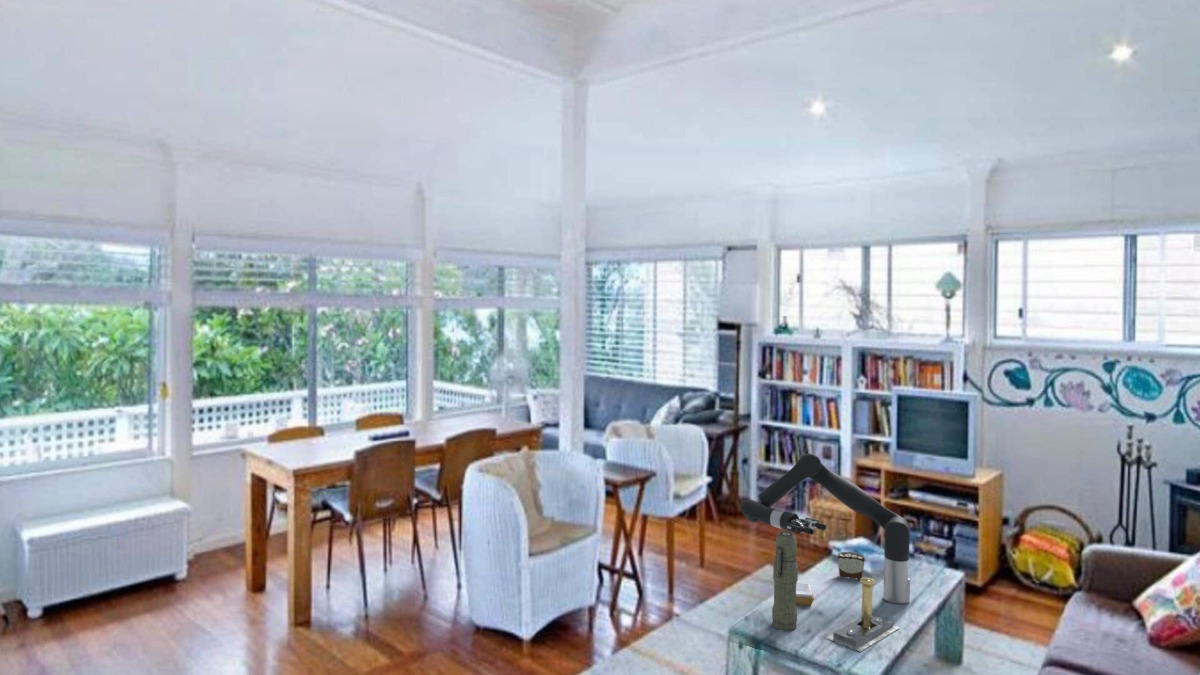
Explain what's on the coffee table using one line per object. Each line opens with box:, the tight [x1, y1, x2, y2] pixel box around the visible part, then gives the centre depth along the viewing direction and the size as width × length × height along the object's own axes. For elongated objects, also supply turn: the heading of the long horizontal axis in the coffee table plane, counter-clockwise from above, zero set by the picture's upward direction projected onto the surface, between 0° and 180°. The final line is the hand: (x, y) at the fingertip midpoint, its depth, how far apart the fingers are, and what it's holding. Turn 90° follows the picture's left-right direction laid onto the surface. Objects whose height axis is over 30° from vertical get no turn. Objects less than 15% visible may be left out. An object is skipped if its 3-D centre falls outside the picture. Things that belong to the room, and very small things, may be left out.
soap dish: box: [796, 582, 815, 606], centre depth 296 cm, size 12×10×5 cm
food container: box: [836, 551, 867, 580], centre depth 322 cm, size 12×6×10 cm, turn 71°
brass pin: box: [859, 576, 876, 629], centre depth 267 cm, size 5×5×19 cm
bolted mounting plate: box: [826, 615, 900, 653], centre depth 266 cm, size 28×13×4 cm, turn 131°
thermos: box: [771, 531, 799, 632], centre depth 271 cm, size 9×12×35 cm
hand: (819, 529), depth 285 cm, fingers open, 8 cm apart
